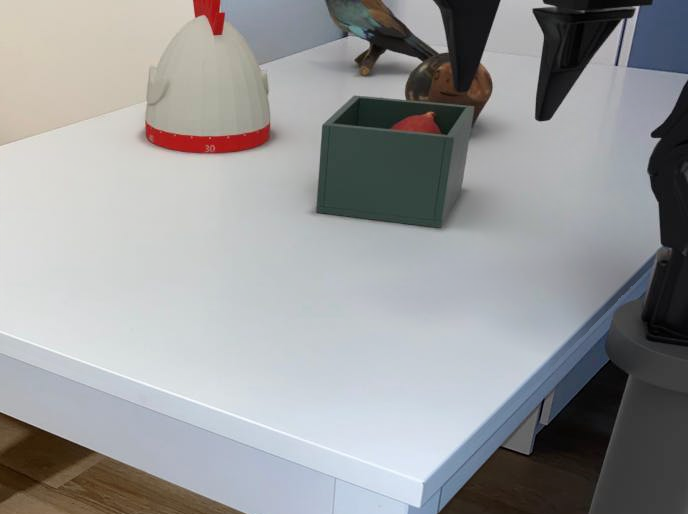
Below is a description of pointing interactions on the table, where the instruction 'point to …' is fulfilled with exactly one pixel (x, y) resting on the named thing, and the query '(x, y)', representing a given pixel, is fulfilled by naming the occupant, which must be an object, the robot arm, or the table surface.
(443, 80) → the decorative turtle
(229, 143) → the kitchen timer
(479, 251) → the table surface
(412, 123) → the onion
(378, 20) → the bird figurine
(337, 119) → the open green box
